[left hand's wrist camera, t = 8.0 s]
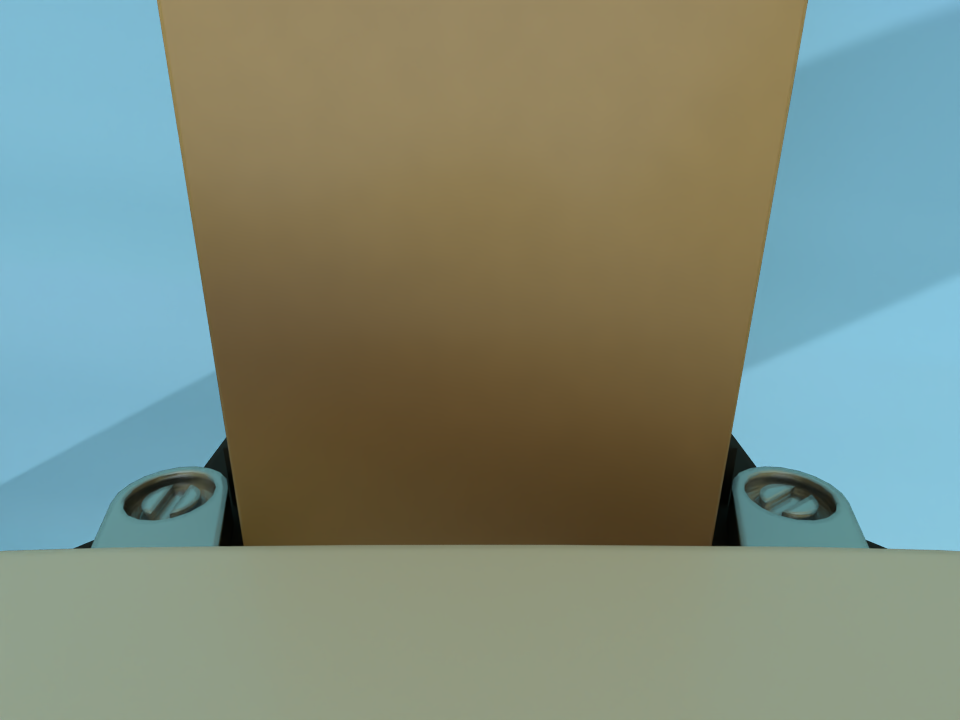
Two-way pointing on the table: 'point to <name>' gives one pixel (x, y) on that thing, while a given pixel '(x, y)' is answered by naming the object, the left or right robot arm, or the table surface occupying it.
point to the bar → (480, 257)
